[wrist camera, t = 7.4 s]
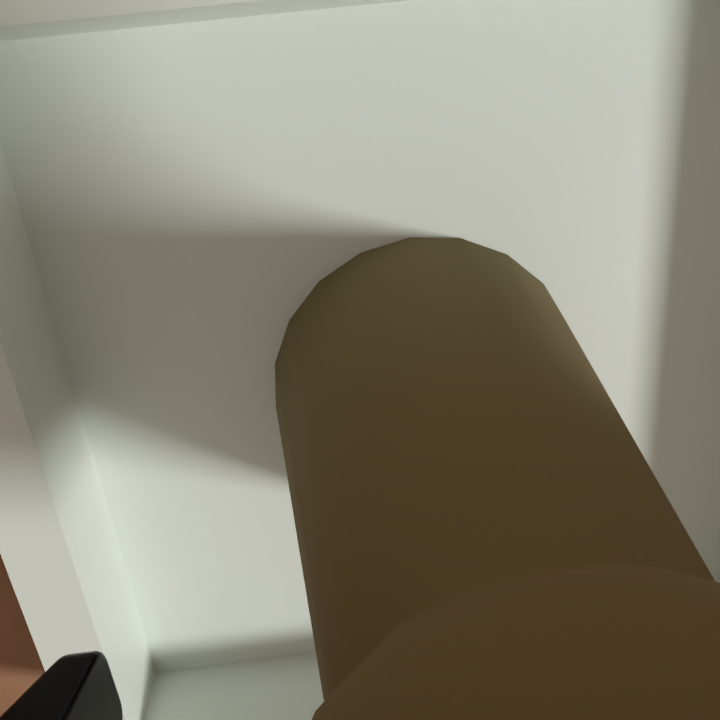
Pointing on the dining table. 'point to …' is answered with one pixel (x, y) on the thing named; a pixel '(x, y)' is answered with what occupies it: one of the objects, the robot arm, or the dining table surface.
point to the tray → (311, 281)
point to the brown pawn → (479, 506)
